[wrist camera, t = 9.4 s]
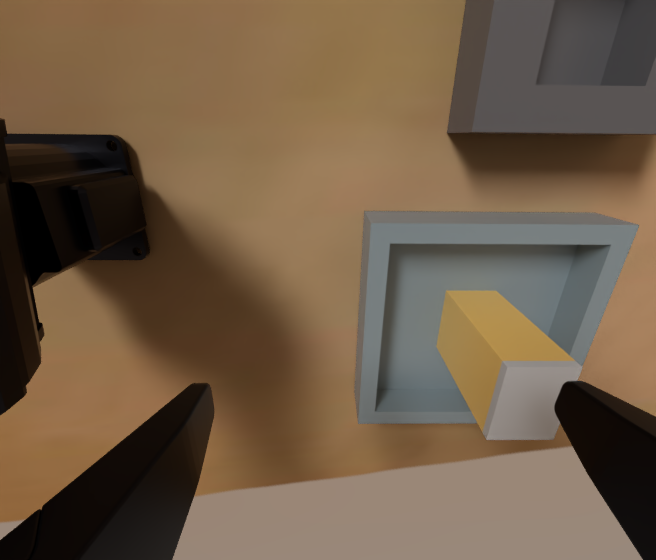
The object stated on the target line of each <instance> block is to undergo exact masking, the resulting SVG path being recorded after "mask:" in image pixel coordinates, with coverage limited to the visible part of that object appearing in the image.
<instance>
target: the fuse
mask: <svg viewBox="0 0 656 560" xmlns="http://www.w3.org/2000/svg"><path fill="white" fill-rule="evenodd" d="M436 347H437V349H438V351H439V353H440V355H441V356H442V358H443V360H444V362H445V364H446V366H447V368H448V369H449V371H450V373H451V375H452V377H453V379H454V381H455V382H456V384H457V386H458V388H459V390H460V392H461V394H462V395H463V397H464V399H465V401H466V403H467V405H468V407H469V408H470V410H471V412H472V414H473V416H474V418H475V420H476V421H477V423H478V425H479V427H480V429H481V431H482V433H483V434H484V436H485V438H486V440H553V439H554V437H555V434H556V432H557V430H558V427H559V425H560V422H559V420H558V418H557V416H556V414H555V410H554V405H555V402H556V399H557V397H558V394H559V392H560V390H561V387H562V385H563V384H564V383H565V382H567V381H577V380H578V378H579V375H580V373H581V370H582V368H583V367H582V366H581V365H580V364H578V363H577V362H576V361H575V360H574V359H573V358H572V357H571V356H569V355H568V354H567V353H566V352H565V351H564V350H563V349H561V348H560V347H559V346H558V345H557V344H556V343H555V342H554V341H552V340H551V339H550V338H549V337H548V336H547V335H546V334H545V333H543V332H542V331H541V330H540V329H539V328H538V327H537V326H536V325H534V324H533V323H532V322H531V321H530V320H529V319H528V318H526V317H525V316H524V315H523V314H522V313H521V312H520V311H519V310H517V309H516V308H515V307H514V306H513V305H512V304H511V303H510V302H508V301H507V300H506V299H505V298H504V297H503V296H502V295H501V294H499V293H498V292H497V291H446V293H445V299H444V305H443V311H442V316H441V322H440V328H439V334H438V340H437V345H436Z"/></svg>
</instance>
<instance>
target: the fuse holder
mask: <svg viewBox="0 0 656 560" xmlns="http://www.w3.org/2000/svg"><path fill="white" fill-rule="evenodd" d="M447 133H495V134H590V135H651V134H656V0H466V5H465V12H464V18H463V25H462V32H461V39H460V46H459V53H458V60H457V67H456V74H455V81H454V88H453V95H452V102H451V109H450V116H449V123H448V130H447Z"/></svg>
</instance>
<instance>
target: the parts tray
mask: <svg viewBox="0 0 656 560" xmlns="http://www.w3.org/2000/svg"><path fill="white" fill-rule="evenodd" d="M638 227H639V225H638V224H634V223H630V222H627V221H623V220H619V219H616V218H612V217H608V216H605V215H601V214H598V213H559V212H418V211H364V226H363V244H362V262H361V281H360V299H359V317H358V336H357V354H356V372H355V391H354V393H355V401H356V409H357V418H358V424H408V423H477V421H476V420H475V418H474V416H473V414H472V412H471V410H470V408H469V407H468V405H467V403H466V401H465V399H464V397H463V395H462V394H461V392H460V390H459V388H458V386H457V384H456V382H455V381H454V379H453V377H452V375H451V373H450V371H449V369H448V368H447V366H446V364H445V362H444V360H443V358H442V356H441V355H440V353H439V351H438V349H437V347H436V345H437V340H438V334H439V328H440V322H441V316H442V311H443V305H444V299H445V293H446V291H497V292H498V293H499V294H501V295H502V296H503V297H504V298H505V299H506V300H507V301H508V302H510V303H511V304H512V305H513V306H514V307H515V308H516V309H517V310H519V311H520V312H521V313H522V314H523V315H524V316H525V317H526V318H528V319H529V320H530V321H531V322H532V323H533V324H534V325H536V326H537V327H538V328H539V329H540V330H541V331H542V332H543V333H545V334H546V335H547V336H548V337H549V338H550V339H551V340H552V341H554V342H555V343H556V344H557V345H558V346H559V347H560V348H561V349H563V350H564V351H565V352H566V353H567V354H568V355H569V356H571V357H572V358H573V359H574V360H575V361H576V362H577V363H578V364H580V365H581V366H583V363H584V361H585V358H586V356H587V353H588V351H589V348H590V346H591V343H592V341H593V338H594V336H595V334H596V331H597V329H598V326H599V324H600V321H601V319H602V316H603V314H604V311H605V309H606V306H607V304H608V301H609V299H610V296H611V294H612V291H613V289H614V287H615V284H616V282H617V279H618V277H619V274H620V272H621V269H622V267H623V264H624V262H625V259H626V257H627V254H628V252H629V249H630V247H631V244H632V242H633V240H634V237H635V235H636V232H637V230H638Z"/></svg>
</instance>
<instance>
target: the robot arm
mask: <svg viewBox="0 0 656 560" xmlns="http://www.w3.org/2000/svg"><path fill="white" fill-rule="evenodd" d="M112 141H114V142H115V143H116V145H117V149H116V151H115V150H114V149H113V148H112V146H111V143H112ZM145 227H146V220H145V215H144V211H143V206H142V202H141V197H140V193H139V188H138V184H137V180H136V179H135V178H134V177H133V173H132V169H131V164H130V160H129V155H128V151H127V146H126V144H125V141H124V140H123V139H122V138H121V137H119V136H117V135H77V134H7V131H6V125H5V120H4V119H1V118H0V415H1V414H3V413H4V412H6V411H7V410H8V409H10V408H11V407H12V406H13V405H14V404H16V403H17V402H18V401H19V400H20V399H22V398H23V397H24V396H25V395H26V393H27V389H26V385H27V384H28V383H29V382H30V380H31V378H32V377H33V375H34V373H35V372H36V370H37V369H38V367H39V365H40V364H41V346H40V341H41V340H42V338H43V337H44V329H43V324H42V323H40V322H39V319H38V314H37V309H36V303H35V298H34V293H33V287H35V286H37V285H38V284H40V283H42V282H44V281H46V280H48V279H50V278H52V277H54V276H56V275H58V274H60V273H62V272H64V271H66V270H68V269H70V268H72V267H74V266H76V265H77V264H79V263H81V262H83V261H85V260H142V259H144V258H145V257H147V256H148V255H149V253H150V249H149V245H148V240H147V236H146V231H145ZM136 247H137V248H139V249H140V250H141V251H142V254H140V253H138V252H137V250H136ZM554 410H555V414H556V416H557V418H558V420H559V422H560V424H561V425H562V427H563V429H564V431H565V433H566V435H567V437H568V439H569V440H570V442H571V444H572V446H573V448H574V450H575V452H576V453H577V455H578V457H579V459H580V461H581V463H582V464H583V466H584V468H585V469H586V472H587V473H588V475H589V477H590V478H591V480H592V481H593V483H594V485H595V486H596V488H597V489H598V491H599V493H600V494H601V496H602V497H603V499H604V500H605V502H606V503H607V505H608V506H609V508H610V510H611V511H612V513H613V514H614V516H615V517H616V519H617V520H618V522H619V523H620V525H621V527H622V528H623V530H624V531H625V532H626V534H627V536H628V537H629V539H630V540H631V542H632V544H633V545H634V547H635V548H636V549H637V551H638V553H639V554H640V556H641V557H642V559H643V560H656V417H655V416H653V415H651V414H649V413H647V412H645V411H643V410H641V409H639V408H637V407H635V406H633V405H631V404H629V403H627V402H625V401H623V400H621V399H619V398H617V397H615V396H613V395H611V394H609V393H606V392H604V391H602V390H600V389H598V388H596V387H594V386H592V385H590V384H588V383H586V382H583V381H567V382H565V383H564V384H563V385H562V387H561V390H560V392H559V394H558V397H557V399H556V402H555V405H554ZM213 418H214V404H213V397H212V391H211V387H210V385H209V384H208V383H194V384H191V385H189V386H188V387H187V388H186V389H185V390H183V391H182V392H181V393H180V394H178V395H177V396H176V397H175V398H174V399H172V400H171V401H170V402H169V403H167V404H166V405H165V406H164V407H163V408H161V409H160V410H159V411H158V412H157V413H155V414H154V415H153V416H152V417H150V418H149V419H148V420H147V421H146V422H144V423H143V424H142V425H141V426H139V427H138V428H137V429H136V430H135V431H133V432H132V433H131V434H130V435H128V436H127V437H126V438H125V439H124V440H122V441H121V442H120V443H119V444H117V445H116V446H115V447H114V448H113V449H111V450H110V451H109V452H108V453H106V454H105V455H104V456H103V457H102V458H100V459H99V460H98V461H97V462H96V463H94V464H93V465H92V466H91V467H89V468H88V469H87V470H86V471H85V472H83V473H82V474H81V475H80V476H78V477H77V478H76V479H75V480H74V481H72V482H71V483H70V484H69V485H67V486H66V487H65V488H64V489H63V490H61V491H60V492H59V493H58V494H56V495H55V496H54V497H53V498H52V499H50V500H49V501H48V502H47V503H45V504H44V505H43V507H42V510H41V509H39V510H37V511H35V512H34V513H33V514H32V515H31V516H29V517H28V518H27V519H26V520H25V521H23V522H22V523H21V524H20V525H18V526H17V527H16V528H15V529H14V530H13V531H11V532H10V533H8V534H7V535H6V536H5V537H3V538H2V539H1V540H0V560H172V558H173V556H174V553H175V550H176V547H177V544H178V541H179V538H180V535H181V533H182V530H183V527H184V524H185V521H186V518H187V515H188V512H189V509H190V506H191V503H192V501H193V498H194V495H195V492H196V489H197V485H198V482H199V478H200V474H201V470H202V466H203V462H204V457H205V453H206V449H207V444H208V440H209V436H210V431H211V427H212V423H213Z"/></svg>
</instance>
